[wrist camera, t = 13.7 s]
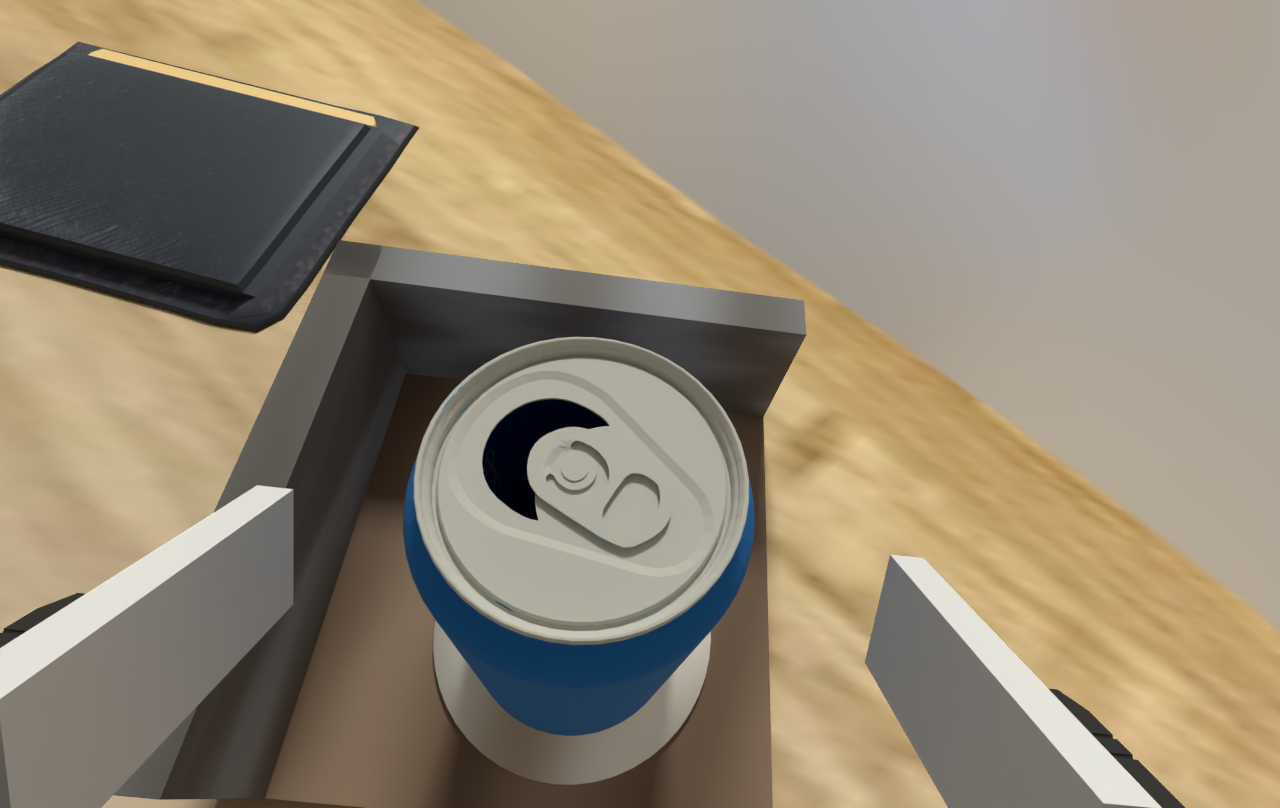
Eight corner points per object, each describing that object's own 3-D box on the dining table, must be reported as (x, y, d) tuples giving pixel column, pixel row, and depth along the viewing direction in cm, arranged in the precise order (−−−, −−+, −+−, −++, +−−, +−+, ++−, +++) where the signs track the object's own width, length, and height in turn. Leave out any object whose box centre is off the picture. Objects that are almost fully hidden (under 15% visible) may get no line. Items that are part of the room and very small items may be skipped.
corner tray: (218, 793, 18) (85, 792, 13) (381, 345, 27) (338, 240, 22) (768, 844, 19) (843, 862, 14) (759, 392, 27) (803, 300, 22)
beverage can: (552, 499, 23) (542, 268, 13) (707, 597, 22) (831, 426, 12) (431, 659, 20) (293, 520, 10) (604, 785, 19) (651, 773, 9)
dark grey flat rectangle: (-202, 193, 26) (72, 13, 34) (-158, 228, 28) (94, 48, 36) (249, 327, 25) (423, 108, 33) (267, 356, 27) (429, 140, 35)
